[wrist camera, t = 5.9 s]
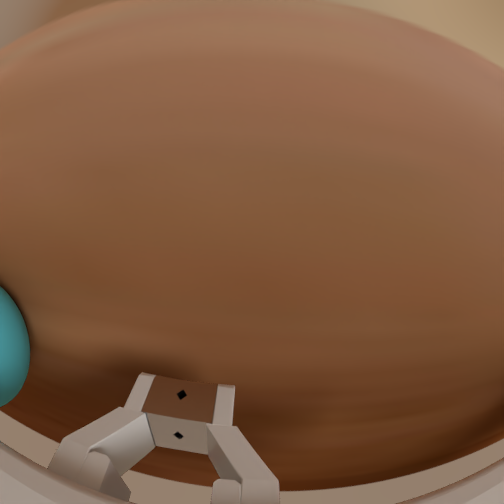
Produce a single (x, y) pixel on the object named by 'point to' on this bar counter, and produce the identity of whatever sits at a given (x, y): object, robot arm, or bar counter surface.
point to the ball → (12, 349)
